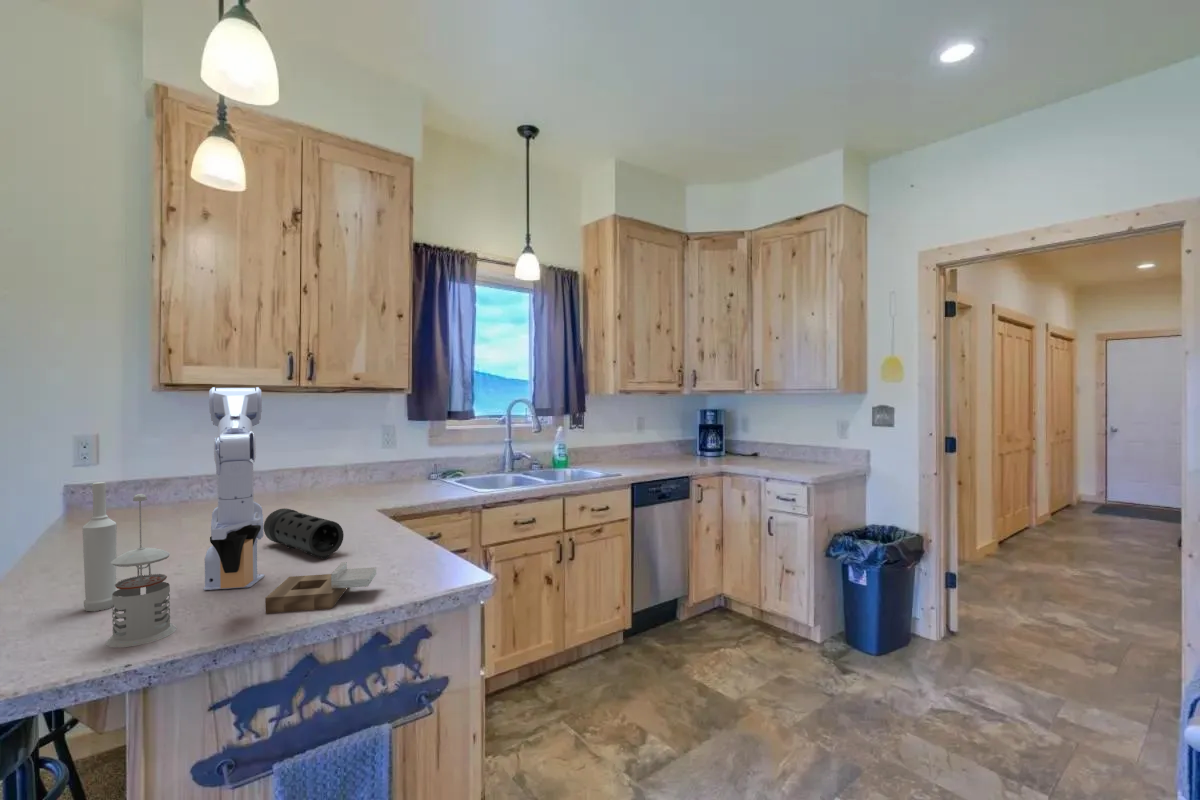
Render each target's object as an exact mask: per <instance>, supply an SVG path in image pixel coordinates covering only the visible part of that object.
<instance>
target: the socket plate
mask: <svg viewBox="0 0 1200 800" xmlns="http://www.w3.org/2000/svg"><path fill="white" fill-rule="evenodd" d="M331 574H332V573H327V574H312V575H296V576H295V575H294V576H289V577H287V578H286V579H285V580H284V581H282V582H281V583H280V584H279V585H278V586H277V587H276V588H275V589H274V590H272V591H271V592H270V593H269V594H268V595H267V596H266V597H265V605H264V606H265V607H264V608H265V614H274V613H287V612H300V611H301V610H303V611H312V610H313V611H314V610H326V609H327V610H328V609H329V610H330V609H333V608H334V606H335V605H336V604H337V603H338V601H339V600H340V599H341V597H342V596H343V595H342V594H344V593H345V592H346V591H347V589H346V588H335V589H331ZM345 590H346V591H345ZM344 591H345V592H344ZM343 592H344V593H343ZM341 595H342V596H341ZM340 596H341V597H340ZM338 599H339V600H338ZM335 603H336V604H335ZM301 612H302V611H301Z"/></svg>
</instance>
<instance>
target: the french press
mask: <svg viewBox="0 0 1200 800" xmlns="http://www.w3.org/2000/svg"><path fill="white" fill-rule="evenodd" d="M147 500H148V497H147V495H146V494H144V493H138V494H135V495H134V496H133V498H132V501H133V502H138V504H139V505H138V508H139V512H138V515H139V547H138V548H136V549H130V550H128V551H126V552H124V553H122V554H120V555H118V556H116V558H115V559H114V560H113V561H111V563H112V564H113V565H114V566H116V567H119V568H121V567H122V568H127V567H135V568H136V569H137V576H136V575H135V576H132V577H127V578H124V579H121V580H120V581H118V582H116V584H115V587H116V591H115V592H114V593H113V594H112V603H113V605H112V608H111V610H112V612H111V613H112V614H111V615H112V616H111V617H112V621H111V622H112V623H111V624H112V634H111V636H110V637H109V638H108V639H107V640H106V641H105V642H106V643H105V644H107V645H106V646H107V647H110V648H128V647H129V648H130V647H136V646H142V645H145V644H150V643H153V642H156V641H158V640H161V639H164V638H168V637H169V636H170V635H172V634H173V633H175V632H176V630H177V629H178V628H177V626H176V625H175V624H173V623H172V622H171V615H170V614H171V608H170V607H171V601H170V597H171V595H170V592H171V589H170V588H171V587H170V583H169V582H166V581H165V580H167V578H168V576H167V575H166V574H162V573H152V572H151V568H152V567H151V564H155V563H158V562H162V561H164V560H167V559H168V558H169V557H170V555H171V553H170V552H169V551H167V550H164V549H162V548H155V547H142V545H143V544H142V502H143V501H147ZM143 565H146V566H143ZM147 568H148V574H144V575H143V569H147ZM142 588H143V589H144V588H145V593H144V594H141V589H142ZM118 612H123V613H118ZM119 619H123V620H120V621H119Z"/></svg>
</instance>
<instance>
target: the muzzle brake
mask: <svg viewBox="0 0 1200 800" xmlns="http://www.w3.org/2000/svg"><path fill="white" fill-rule="evenodd" d="M263 533H264V534H265V537H267V539H269V541H271V542H273V543H277V544H279V545H280V544H281V545H285V548H287V547H289V548H288V549H290V548H294V549H297V550H301V552H302V553H306V554H308V555H310V556H312V557H315V558H316V557H317V558H319V559H321V560H326V558H327V559H329V556H331V555H332V554H334V553H335V552H337V551H338V549H340V548H341V546H342V544H343V542H344V536H345V535H344V530H343V528H342V525H340V523H338V522H336V521H333V520H330V519H329V520H328V519H326V518H322V517H317V516H314V515H313V516H312V515H309V514H305V513H304V512H299V511H297V510H294V509H291V508H285V507H284V508H278V509H275V510H274V511H272V512H271V513H269V515H267V516H266V518H265V520H264V521H263Z"/></svg>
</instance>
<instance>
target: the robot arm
mask: <svg viewBox="0 0 1200 800" xmlns="http://www.w3.org/2000/svg"><path fill="white" fill-rule="evenodd" d="M208 395H209V396H208V398H209V399H208V400H209V401H208V404H209V405H208V406H209V415H210V420H211V421H212V424H213V426H215V427H218V428H217V429H218V430H217V437H214V440H213V457H214V458H213V459H214V462H215V470H216V472H215V473H216V475H217V477H216V478H217V506H216V507H215V508H214V509H213V511H212V512H211V520H210V521H211V523H210V524H211V525H210V537H209V542H210V544H211V546H209V548H207V551H206V553H205V556H204V587H203V591H211V590H227V589H230V588H220V560H221V563H222V567H223V570H224V572H225V573H235V572H238V570H239V566H240V559H241V551H242V547H243V544H244V542H245V539H253V581H251V582H250V583H249V584H247V585H246V586H245V587H236V588H235V589H242V588H251V587H252V586H254V585H255V584H256V583H259V581H260V580H261V579H263V578H264V577H265V574H264V573H261V574H259V573H258V540H262V538H263V537H264V514H263V507H262V506H261V504H260V503H258V502H257V501H254V499H255V497H254V495H255V494H254V463H255V461H256V457H257V456H256V455H257V454H256V453H257V451H256V449H257V448H256V445H257V444H256V435H255V433H254V431H253V427H254V426H256V425H258V424H260V420H261V418H262V411H263V409H262V408H263V407H262V389H261V388H260V387H259V386H256V387H215V386H214V387H211V388H210V389H209V392H208ZM251 460H252V461H253V462H252V461H251Z"/></svg>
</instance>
